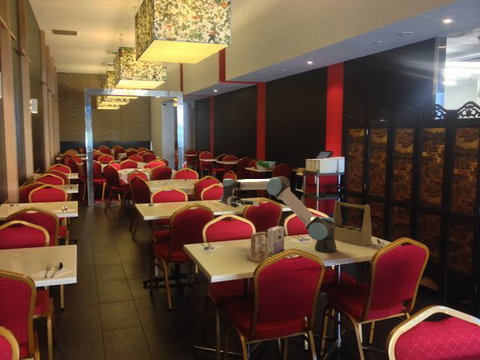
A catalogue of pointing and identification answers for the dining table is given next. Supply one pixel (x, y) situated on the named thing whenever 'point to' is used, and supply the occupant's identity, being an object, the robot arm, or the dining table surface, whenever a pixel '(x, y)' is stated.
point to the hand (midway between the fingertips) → (250, 205)
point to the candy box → (275, 239)
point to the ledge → (259, 256)
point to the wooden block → (258, 242)
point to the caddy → (351, 233)
